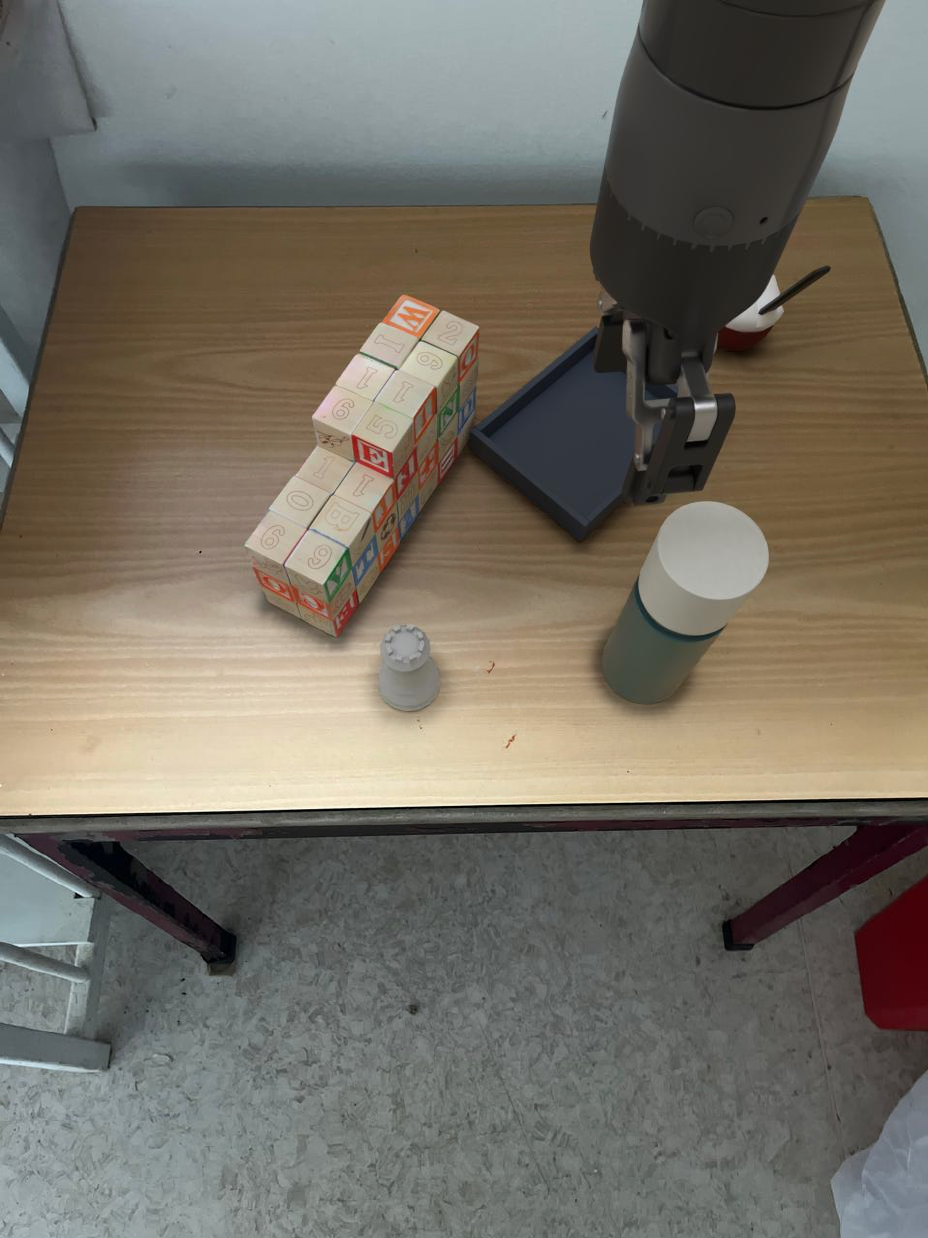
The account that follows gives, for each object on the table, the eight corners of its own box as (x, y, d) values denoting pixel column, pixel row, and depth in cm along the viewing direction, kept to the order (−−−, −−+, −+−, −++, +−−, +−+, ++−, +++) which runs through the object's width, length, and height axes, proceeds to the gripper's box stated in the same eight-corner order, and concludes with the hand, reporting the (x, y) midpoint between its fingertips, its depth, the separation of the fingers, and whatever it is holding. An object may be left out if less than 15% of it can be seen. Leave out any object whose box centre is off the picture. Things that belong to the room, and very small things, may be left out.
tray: (591, 345, 74) (595, 325, 71) (701, 428, 70) (710, 410, 68) (468, 449, 69) (469, 430, 67) (580, 542, 66) (585, 526, 64)
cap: (681, 525, 52) (703, 481, 47) (760, 588, 50) (791, 548, 46) (617, 588, 50) (634, 548, 45) (697, 656, 48) (723, 621, 44)
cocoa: (685, 299, 76) (726, 182, 65) (753, 295, 76) (806, 178, 65) (707, 384, 72) (754, 276, 61) (779, 380, 73) (839, 271, 62)
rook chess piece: (447, 703, 60) (448, 664, 53) (387, 720, 60) (378, 683, 53) (431, 647, 62) (429, 602, 55) (371, 663, 62) (361, 620, 54)
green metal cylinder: (637, 611, 64) (681, 525, 52) (699, 665, 62) (760, 588, 50) (584, 665, 62) (617, 588, 50) (647, 721, 60) (697, 656, 48)
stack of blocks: (338, 641, 62) (315, 565, 51) (267, 603, 63) (228, 520, 52) (476, 430, 70) (481, 323, 59) (410, 400, 71) (403, 289, 60)
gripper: (867, 303, 28) (725, 537, 43) (758, 31, 34) (665, 321, 49) (648, 322, 28) (580, 552, 43) (574, 43, 34) (537, 332, 48)
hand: (625, 429), depth 46 cm, fingers open, 8 cm apart
